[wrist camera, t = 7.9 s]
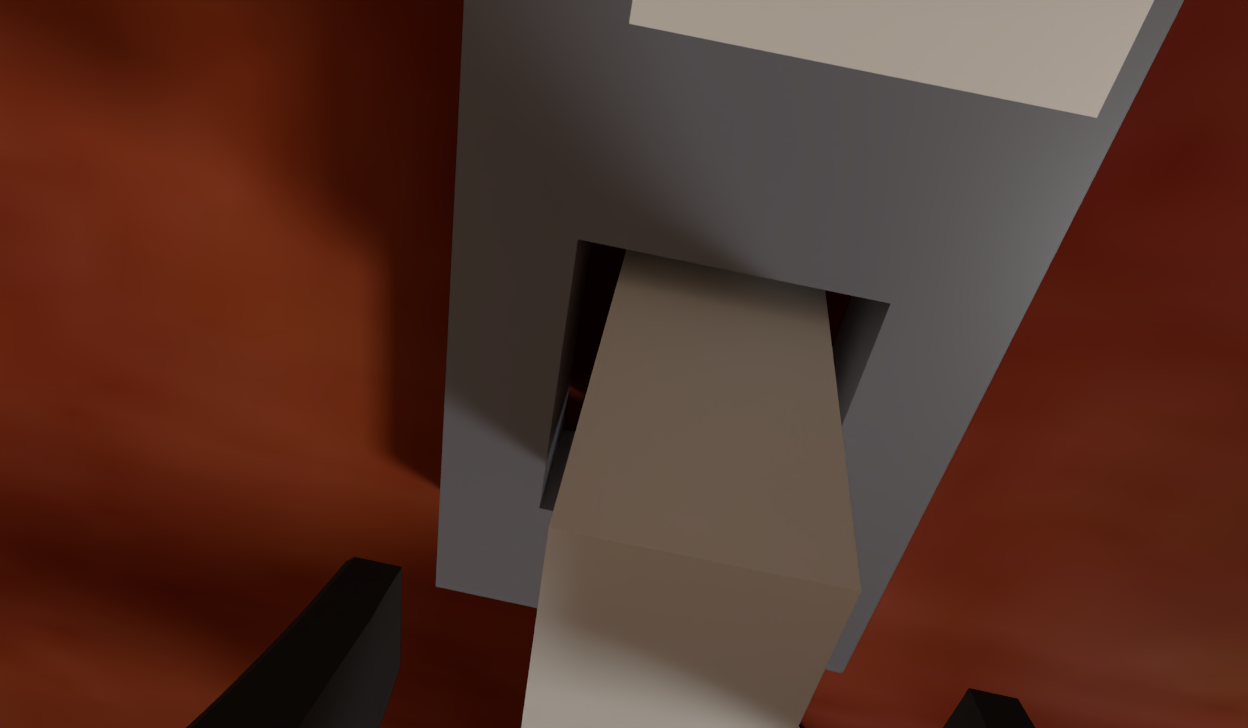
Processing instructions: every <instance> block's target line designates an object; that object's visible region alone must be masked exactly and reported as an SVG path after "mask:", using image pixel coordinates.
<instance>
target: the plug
mask: <svg viewBox="0 0 1248 728" xmlns="http://www.w3.org/2000/svg"><path fill="white" fill-rule="evenodd" d="M860 593H861V585H860V577H859V568H858V560H857V551H856V543H855V535H854V526H853V518H852V510H851V501H850V493H849V485H848V476H847V468H846V460H845V451H844V443H843V434H842V426H841V418H840V409H839V401H838V393H837V384H836V376H835V368H834V359H833V351H832V342H831V334H830V326H829V317H828V309H827V301H826V292H825V290H822V289H817V288H812V287H808V286H803V285H798V284H793V283H788V282H783V281H778V280H774V279H769V278H764V277H759V276H754V275H749V274H744V273H739V272H735V271H730V270H725V269H720V268H715V267H710V266H705V265H701V264H696V263H691V262H686V261H681V260H676V259H671V258H667V257H662V256H657V255H652V254H647V253H642V252H637V251H633V250H628V249H626V253H625V256H624V260H623V263H622V267H621V271H620V274H619V278H618V281H617V285H616V288H615V292H614V296H613V299H612V303H611V306H610V310H609V313H608V317H607V321H606V324H605V328H604V331H603V335H602V338H601V342H600V346H599V349H598V353H597V356H596V360H595V364H594V367H593V371H592V374H591V378H590V381H589V385H588V389H587V392H586V396H585V399H584V403H583V406H582V410H581V414H580V417H579V421H578V424H577V428H576V431H575V435H574V439H573V442H572V446H571V449H570V453H569V456H568V460H567V464H566V467H565V471H564V474H563V478H562V482H561V485H560V489H559V492H558V496H557V499H556V503H555V507H554V510H553V514H552V517H551V521H550V524H549V528H548V535H547V543H546V550H545V557H544V564H543V572H542V579H541V586H540V594H539V601H538V608H537V615H536V623H535V630H534V637H533V645H532V652H531V659H530V666H529V674H528V681H527V688H526V696H525V703H524V710H523V717H522V725H521V728H798V726H799V724H800V722H801V720H802V718H803V715H804V713H805V711H806V709H807V707H808V705H809V703H810V700H811V698H812V696H813V694H814V692H815V690H816V687H817V685H818V683H819V681H820V679H821V677H822V675H823V672H824V670H825V668H826V666H827V664H828V662H829V660H830V657H831V655H832V653H833V651H834V649H835V647H836V644H837V642H838V640H839V638H840V636H841V634H842V632H843V629H844V627H845V625H846V623H847V621H848V619H849V617H850V614H851V612H852V610H853V608H854V606H855V604H856V601H857V599H858V597H859V595H860Z"/></svg>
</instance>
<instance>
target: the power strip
mask: <svg viewBox="0 0 1248 728" xmlns="http://www.w3.org/2000/svg"><path fill="white" fill-rule="evenodd" d="M1183 1H1184V0H464V11H463V31H462V52H461V72H460V93H459V114H458V134H457V155H456V175H455V196H454V217H453V237H452V258H451V278H450V299H449V320H448V340H447V361H446V381H445V402H444V423H443V443H442V464H441V484H440V505H439V526H438V546H437V567H436V587H440V588H445V589H450V590H454V591H459V592H464V593H468V594H473V595H478V596H482V597H487V598H492V599H497V600H501V601H506V602H511V603H515V604H520V605H525V606H529V607H534V608H538V601H539V594H540V586H541V579H542V572H543V564H544V557H545V550H546V543H547V535H548V528H549V524H550V521H551V517H552V514H553V510H554V507H555V503H556V499H557V496H558V492H559V489H560V485H561V482H562V478H563V474H564V471H565V467H566V464H567V460H568V456H569V453H570V449H571V446H572V442H573V439H574V435H575V431H570V430H565V429H563V427H564V420H565V414H566V407H567V401H568V394H569V388H570V381H571V375H572V368H573V362H574V355H575V349H576V342H577V336H578V329H579V323H580V316H581V310H582V303H583V296H584V290H585V283H586V277H587V270H588V264H589V257H590V251H591V244H592V242H594V243H598V244H603V245H608V246H613V247H618V248H623V249H628V250H633V251H637V252H642V253H647V254H652V255H657V256H662V257H667V258H671V259H676V260H681V261H686V262H691V263H696V264H701V265H705V266H710V267H715V268H720V269H725V270H730V271H735V272H739V273H744V274H749V275H754V276H759V277H764V278H769V279H774V280H778V281H783V282H788V283H793V284H798V285H803V286H808V287H812V288H817V289H822V290H827V291H832V292H837V293H842V294H846V295H851V298H850V300H849V303H848V306H847V309H846V311H845V314H844V317H843V320H842V322H841V325H840V328H839V330H838V333H837V336H836V339H835V341H834V344H833V347H832V351H833V359H834V368H835V376H836V384H837V393H838V401H839V409H840V418H841V426H842V434H843V443H844V451H845V460H846V468H847V476H848V485H849V493H850V501H851V510H852V518H853V526H854V535H855V543H856V551H857V560H858V568H859V577H860V585H861V593H860V595H859V597H858V599H857V601H856V604H855V606H854V608H853V610H852V612H851V614H850V617H849V619H848V621H847V623H846V625H845V627H844V629H843V632H842V634H841V636H840V638H839V640H838V642H837V644H836V647H835V649H834V651H833V653H832V655H831V657H830V660H829V662H828V664H827V666H826V668H825V669H826V670H830V671H835V672H840V673H843V671H844V669H845V667H846V665H847V663H848V661H849V659H850V657H851V655H852V653H853V651H854V649H855V647H856V645H857V643H858V641H859V639H860V637H861V635H862V633H863V631H864V629H865V628H866V626H867V624H868V622H869V620H870V618H871V616H872V614H873V612H874V610H875V608H876V606H877V604H878V602H879V600H880V598H881V596H882V594H883V592H884V590H885V588H886V586H887V584H888V582H889V580H890V578H891V576H892V574H893V572H894V570H895V568H896V566H897V564H898V563H899V561H900V559H901V557H902V555H903V553H904V551H905V549H906V547H907V545H908V543H909V541H910V539H911V537H912V535H913V533H914V531H915V529H916V527H917V525H918V523H919V521H920V519H921V517H922V515H923V513H924V511H925V509H926V507H927V505H928V503H929V501H930V500H931V498H932V496H933V494H934V492H935V490H936V488H937V486H938V484H939V482H940V480H941V478H942V476H943V474H944V472H945V470H946V468H947V466H948V464H949V462H950V460H951V458H952V456H953V454H954V452H955V450H956V448H957V446H958V444H959V442H960V440H961V438H962V436H963V435H964V433H965V431H966V429H967V427H968V425H969V423H970V421H971V419H972V417H973V415H974V413H975V411H976V409H977V407H978V405H979V403H980V401H981V399H982V397H983V395H984V393H985V391H986V389H987V387H988V385H989V383H990V381H991V379H992V377H993V375H994V373H995V371H996V370H997V368H998V366H999V364H1000V362H1001V360H1002V358H1003V356H1004V354H1005V352H1006V350H1007V348H1008V346H1009V344H1010V342H1011V340H1012V338H1013V336H1014V334H1015V332H1016V330H1017V328H1018V326H1019V324H1020V322H1021V320H1022V318H1023V316H1024V314H1025V312H1026V310H1027V308H1028V306H1029V305H1030V303H1031V301H1032V299H1033V297H1034V295H1035V293H1036V291H1037V289H1038V287H1039V285H1040V283H1041V281H1042V279H1043V277H1044V275H1045V273H1046V271H1047V269H1048V267H1049V265H1050V263H1051V261H1052V259H1053V257H1054V255H1055V253H1056V251H1057V249H1058V247H1059V245H1060V243H1061V241H1062V240H1063V238H1064V236H1065V234H1066V232H1067V230H1068V228H1069V226H1070V224H1071V222H1072V220H1073V218H1074V216H1075V214H1076V212H1077V210H1078V208H1079V206H1080V204H1081V202H1082V200H1083V198H1084V196H1085V194H1086V192H1087V190H1088V188H1089V186H1090V184H1091V182H1092V180H1093V178H1094V176H1095V175H1096V173H1097V171H1098V169H1099V167H1100V165H1101V163H1102V161H1103V159H1104V157H1105V155H1106V153H1107V151H1108V149H1109V147H1110V145H1111V143H1112V141H1113V139H1114V137H1115V135H1116V133H1117V131H1118V129H1119V127H1120V125H1121V123H1122V121H1123V119H1124V117H1125V115H1126V113H1127V111H1128V110H1129V108H1130V106H1131V104H1132V102H1133V100H1134V98H1135V96H1136V94H1137V92H1138V90H1139V88H1140V86H1141V84H1142V82H1143V80H1144V78H1145V76H1146V74H1147V72H1148V70H1149V68H1150V66H1151V64H1152V62H1153V60H1154V58H1155V56H1156V54H1157V52H1158V50H1159V48H1160V46H1161V45H1162V43H1163V41H1164V39H1165V37H1166V35H1167V33H1168V31H1169V29H1170V27H1171V25H1172V23H1173V21H1174V19H1175V17H1176V15H1177V13H1178V11H1179V9H1180V7H1181V5H1182V3H1183Z"/></svg>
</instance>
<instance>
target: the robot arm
mask: <svg viewBox="0 0 1248 728" xmlns="http://www.w3.org/2000/svg"><path fill="white" fill-rule="evenodd" d="M401 587H402V567H399V566H394V565H390V564H385V563H380V562H375V561H371V560H366V559H361V558H357V557H354V558H352V559H350V560H348V561H346V562H345V563H344V564H343V566H342V567H341V568H340V569H339V570H338V572H337V573H336V574H335V575H334V576H333V578H332V579H331V580H330V581H329V582H328V583H327V584H326V586H325V587H324V588H323V589H322V590H321V591H320V592H319V594H318V595H317V596H316V597H315V598H314V599H313V600H312V601H311V603H310V604H309V605H308V606H307V607H306V608H305V609H304V610H303V611H302V612H301V614H300V615H299V616H298V617H297V618H296V619H295V620H294V621H293V622H292V623H291V624H290V625H289V626H288V628H287V629H286V630H285V631H284V632H283V633H282V634H281V635H280V636H279V637H278V638H277V639H276V640H275V641H274V642H273V643H272V644H271V646H270V647H269V648H268V649H267V650H266V651H265V652H264V653H263V654H262V655H261V656H260V657H259V658H258V659H257V660H256V661H255V662H254V663H253V664H252V665H251V666H250V667H249V668H248V669H247V670H246V671H245V672H244V673H243V674H242V675H241V676H240V677H239V678H238V679H237V680H236V681H235V682H234V683H233V684H232V685H231V686H230V687H229V688H228V689H227V690H226V691H225V692H224V693H223V694H222V695H221V696H220V697H218V698H217V699H216V700H215V701H214V702H213V703H212V704H211V705H210V706H209V707H208V708H207V709H206V710H205V711H204V712H203V713H202V714H200V715H199V716H198V717H197V718H196V719H195V720H194V721H193V722H192V723H191V724H189V725H188V726H187V727H186V728H379V727H380V725H381V722H382V719H383V716H384V713H385V710H386V707H387V704H388V701H389V698H390V695H391V692H392V689H393V686H394V683H395V680H396V677H397V674H398V672H399V669H400V648H401ZM798 728H800V727H799V726H798ZM943 728H1035V727H1034V725H1033V723H1032V722H1031V720H1030V718H1029V717H1028V715H1027V713H1026V712H1025V710H1024V708H1023V707H1022V705H1021V703H1020V702H1019V700H1018V699H1017V698H1012V697H1008V696H1003V695H998V694H994V693H989V692H984V691H980V690H975V689H970V688H969V689H968V691H967V692H966V694H965V695H964V697H963V698H962V700H961V701H960V703H959V704H958V706H957V707H956V709H955V710H954V712H953V713H952V715H951V717H950V718H949V720H948V721H947V723H946V724H945V726H944V727H943Z"/></svg>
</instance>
